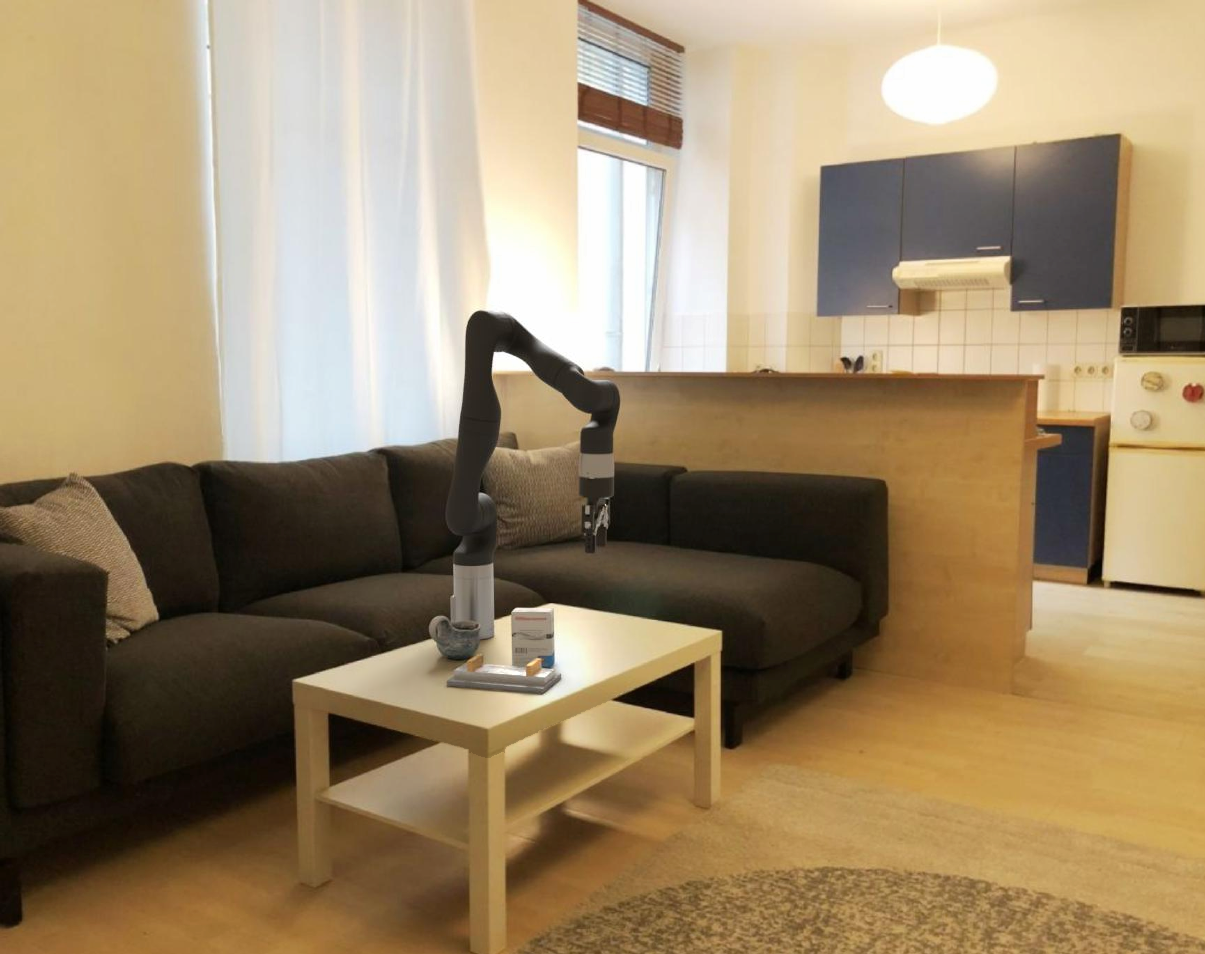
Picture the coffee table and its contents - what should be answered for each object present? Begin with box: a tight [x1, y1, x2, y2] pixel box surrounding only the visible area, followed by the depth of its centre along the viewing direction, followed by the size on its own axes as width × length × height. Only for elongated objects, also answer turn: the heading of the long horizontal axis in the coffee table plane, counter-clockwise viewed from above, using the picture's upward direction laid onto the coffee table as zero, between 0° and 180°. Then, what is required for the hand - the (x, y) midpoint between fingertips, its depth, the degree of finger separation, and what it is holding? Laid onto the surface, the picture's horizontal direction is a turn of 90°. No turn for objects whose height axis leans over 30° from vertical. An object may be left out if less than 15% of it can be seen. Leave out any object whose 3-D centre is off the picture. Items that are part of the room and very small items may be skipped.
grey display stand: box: [446, 653, 562, 695], centre depth 220 cm, size 20×11×4 cm, turn 73°
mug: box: [428, 615, 481, 660], centre depth 238 cm, size 10×12×10 cm
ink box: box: [510, 607, 556, 668], centre depth 233 cm, size 8×5×12 cm, turn 84°
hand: (595, 549), depth 238 cm, fingers open, 8 cm apart
